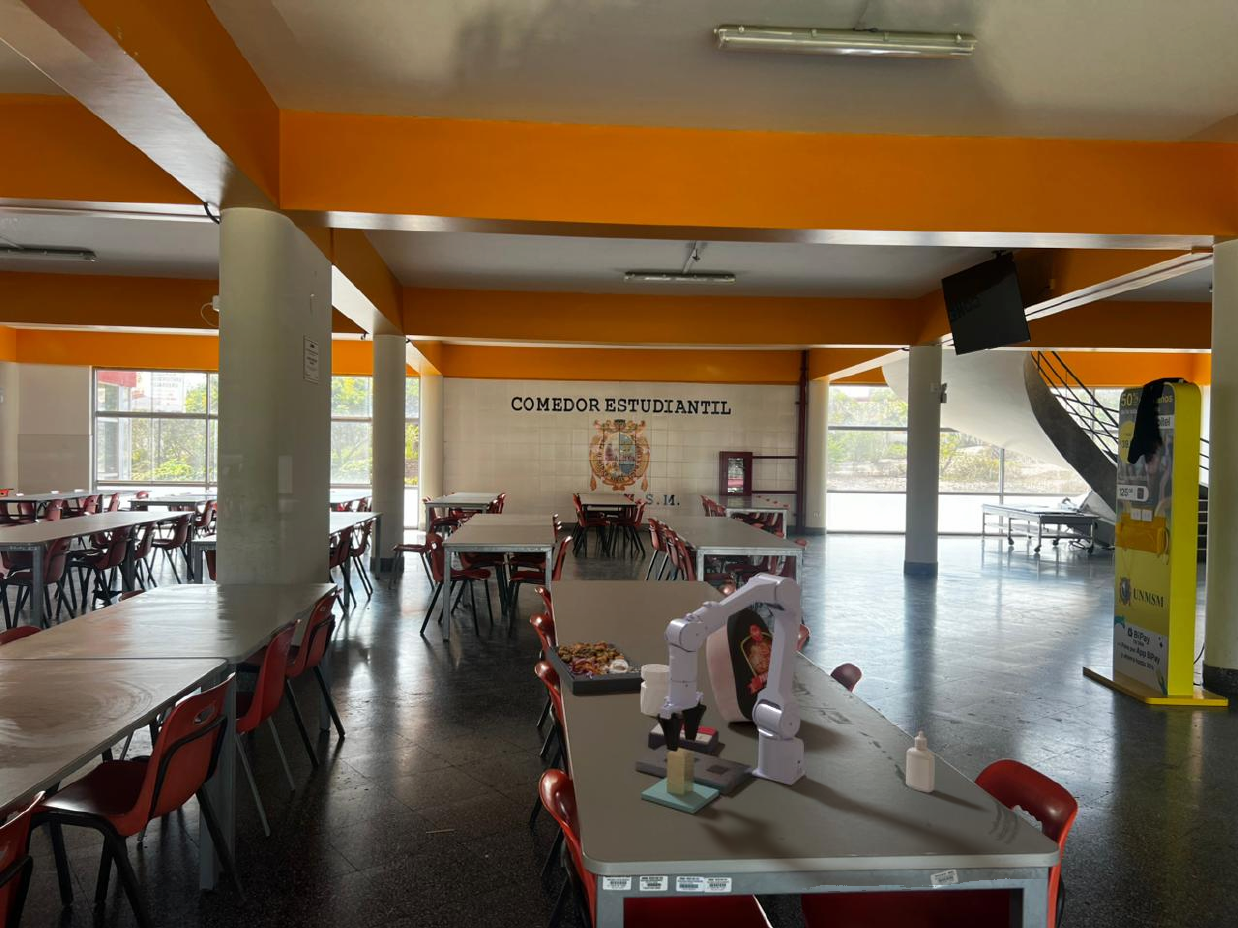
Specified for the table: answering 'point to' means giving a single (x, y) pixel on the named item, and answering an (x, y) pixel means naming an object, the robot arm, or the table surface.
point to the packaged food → (739, 663)
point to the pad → (687, 803)
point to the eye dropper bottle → (920, 766)
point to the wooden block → (680, 772)
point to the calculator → (702, 744)
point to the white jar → (654, 688)
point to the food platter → (595, 668)
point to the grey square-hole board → (699, 769)
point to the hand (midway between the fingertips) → (681, 744)
